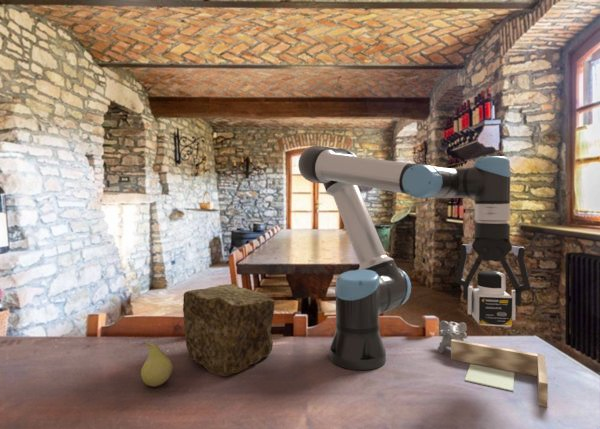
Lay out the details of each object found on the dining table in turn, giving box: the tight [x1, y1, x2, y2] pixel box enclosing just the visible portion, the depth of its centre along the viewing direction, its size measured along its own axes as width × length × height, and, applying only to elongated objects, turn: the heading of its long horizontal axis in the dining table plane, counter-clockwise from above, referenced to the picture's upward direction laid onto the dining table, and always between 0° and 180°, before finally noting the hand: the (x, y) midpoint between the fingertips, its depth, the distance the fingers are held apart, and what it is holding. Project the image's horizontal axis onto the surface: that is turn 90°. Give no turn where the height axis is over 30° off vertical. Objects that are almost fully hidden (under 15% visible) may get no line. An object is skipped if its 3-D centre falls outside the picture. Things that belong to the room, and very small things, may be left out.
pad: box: [464, 363, 516, 392], centre depth 91 cm, size 10×10×1 cm
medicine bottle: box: [471, 270, 513, 328], centre depth 90 cm, size 7×7×12 cm
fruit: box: [140, 340, 173, 388], centre depth 88 cm, size 7×8×12 cm
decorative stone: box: [182, 283, 275, 377], centre depth 102 cm, size 21×20×20 cm
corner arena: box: [450, 339, 549, 408], centre depth 90 cm, size 21×16×5 cm
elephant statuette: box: [437, 320, 468, 354], centre depth 108 cm, size 9×12×8 cm
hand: (491, 315), depth 90 cm, fingers closed on medicine bottle, 9 cm apart
